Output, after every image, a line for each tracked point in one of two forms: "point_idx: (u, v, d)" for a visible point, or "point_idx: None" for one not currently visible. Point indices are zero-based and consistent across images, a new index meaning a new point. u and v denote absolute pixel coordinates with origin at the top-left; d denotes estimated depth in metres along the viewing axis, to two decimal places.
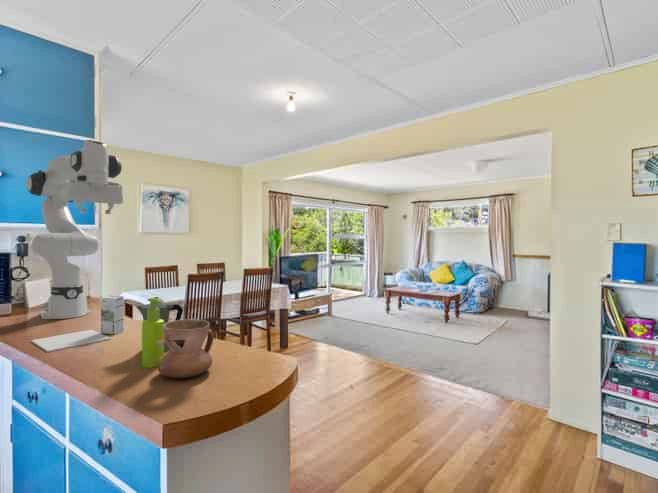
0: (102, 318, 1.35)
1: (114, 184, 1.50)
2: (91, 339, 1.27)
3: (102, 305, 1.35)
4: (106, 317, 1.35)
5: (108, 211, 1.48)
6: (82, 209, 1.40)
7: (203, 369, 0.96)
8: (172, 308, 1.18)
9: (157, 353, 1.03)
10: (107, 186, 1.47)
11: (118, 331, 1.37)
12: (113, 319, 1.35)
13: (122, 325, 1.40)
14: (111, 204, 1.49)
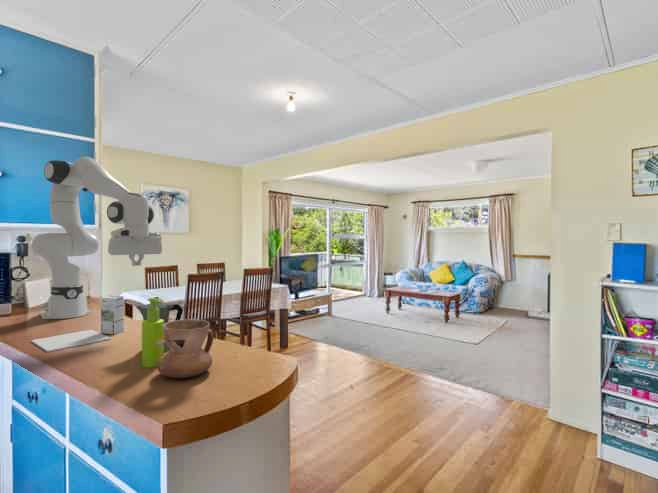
0: (102, 318, 1.35)
1: (154, 234, 1.50)
2: (91, 339, 1.27)
3: (102, 305, 1.35)
4: (106, 317, 1.35)
5: (139, 263, 1.44)
6: (135, 262, 1.43)
7: (203, 369, 0.96)
8: (172, 308, 1.18)
9: (157, 353, 1.03)
10: (148, 237, 1.46)
11: (118, 331, 1.37)
12: (113, 319, 1.35)
13: (122, 325, 1.40)
14: (141, 255, 1.45)
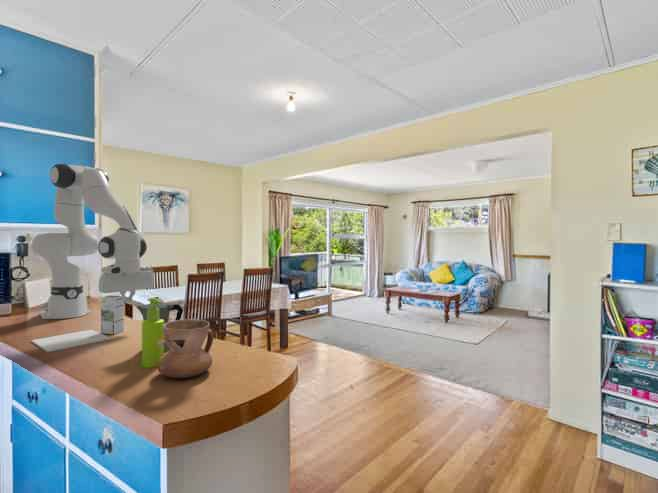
0: (102, 318, 1.35)
1: (146, 269, 1.47)
2: (91, 339, 1.27)
3: (102, 305, 1.35)
4: (106, 317, 1.35)
5: (130, 299, 1.42)
6: (126, 299, 1.41)
7: (203, 369, 0.96)
8: (172, 308, 1.18)
9: (157, 353, 1.03)
10: (139, 273, 1.44)
11: (118, 331, 1.37)
12: (113, 319, 1.35)
13: (122, 325, 1.40)
14: (133, 291, 1.43)
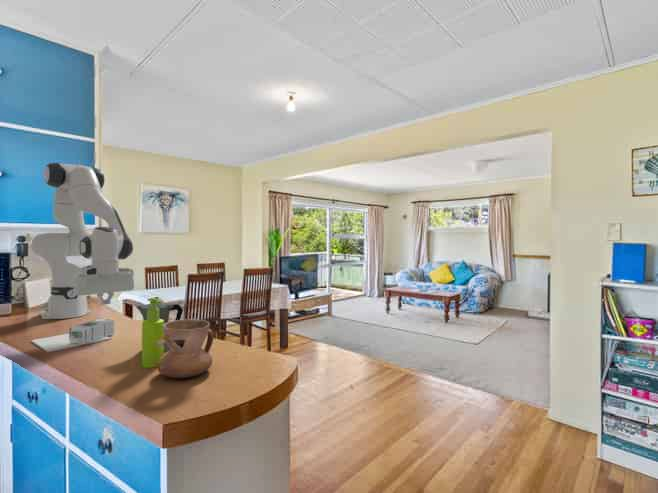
0: None
1: None
2: None
3: None
4: None
5: (108, 301, 1.35)
6: (103, 301, 1.34)
7: (203, 369, 0.96)
8: (172, 308, 1.18)
9: (157, 353, 1.03)
10: (118, 274, 1.37)
11: (113, 327, 1.34)
12: (101, 337, 1.29)
13: (110, 322, 1.32)
14: (111, 293, 1.36)
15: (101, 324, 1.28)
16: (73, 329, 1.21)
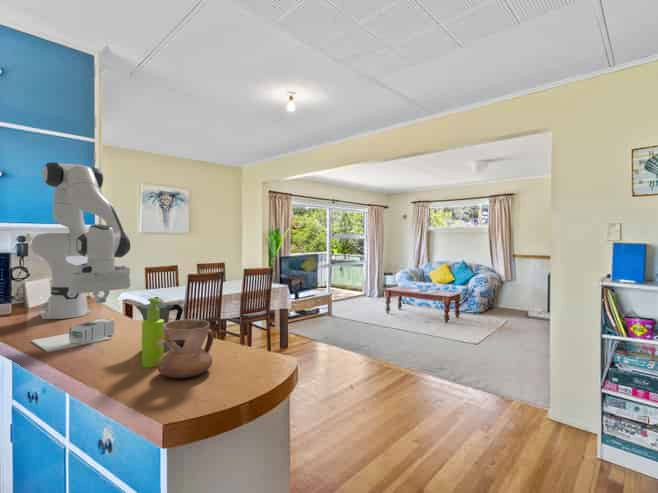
0: None
1: (121, 268, 1.40)
2: None
3: None
4: None
5: (103, 299, 1.34)
6: (99, 300, 1.33)
7: (203, 369, 0.96)
8: (172, 308, 1.18)
9: (157, 353, 1.03)
10: (114, 272, 1.36)
11: (113, 327, 1.34)
12: (101, 337, 1.29)
13: (110, 322, 1.32)
14: (107, 291, 1.35)
15: (101, 324, 1.28)
16: (73, 329, 1.21)
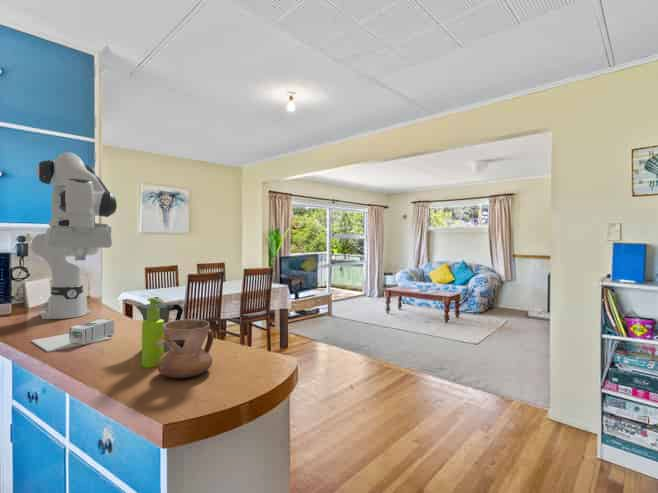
0: None
1: (102, 225, 1.33)
2: None
3: None
4: None
5: (82, 257, 1.28)
6: (78, 257, 1.27)
7: (203, 369, 0.96)
8: (172, 308, 1.18)
9: (157, 353, 1.03)
10: (94, 229, 1.30)
11: (113, 327, 1.34)
12: (101, 337, 1.29)
13: (110, 322, 1.32)
14: (86, 249, 1.29)
15: (101, 324, 1.28)
16: (73, 329, 1.21)
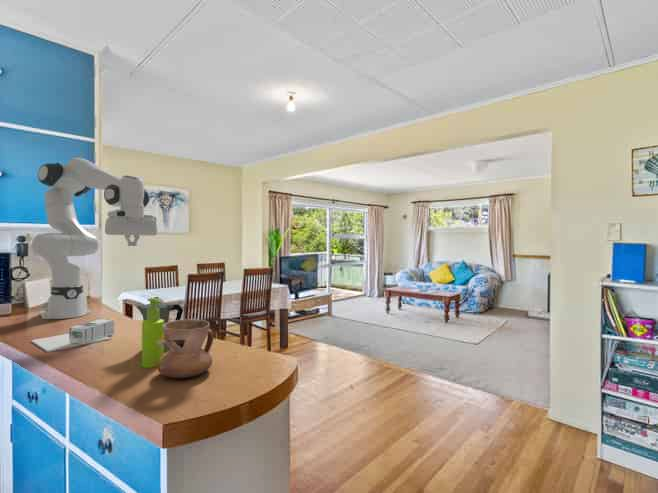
0: None
1: (149, 216, 1.56)
2: None
3: None
4: None
5: (134, 243, 1.50)
6: (130, 243, 1.49)
7: (203, 369, 0.96)
8: (172, 308, 1.18)
9: (157, 353, 1.03)
10: (143, 219, 1.52)
11: (113, 327, 1.34)
12: (101, 337, 1.29)
13: (110, 322, 1.32)
14: (137, 236, 1.51)
15: (101, 324, 1.28)
16: (73, 329, 1.21)
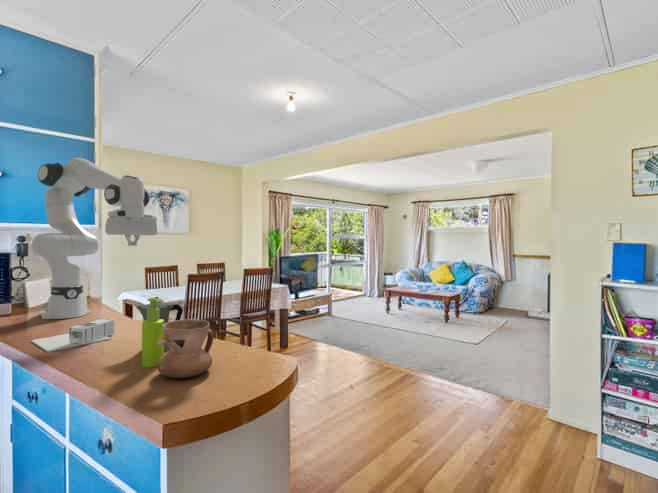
0: None
1: (149, 216, 1.56)
2: None
3: None
4: None
5: (134, 243, 1.50)
6: (131, 242, 1.49)
7: (203, 369, 0.96)
8: (172, 308, 1.18)
9: (157, 353, 1.03)
10: (143, 219, 1.52)
11: (113, 327, 1.34)
12: (101, 337, 1.29)
13: (110, 322, 1.32)
14: (137, 236, 1.51)
15: (101, 324, 1.28)
16: (73, 329, 1.21)
